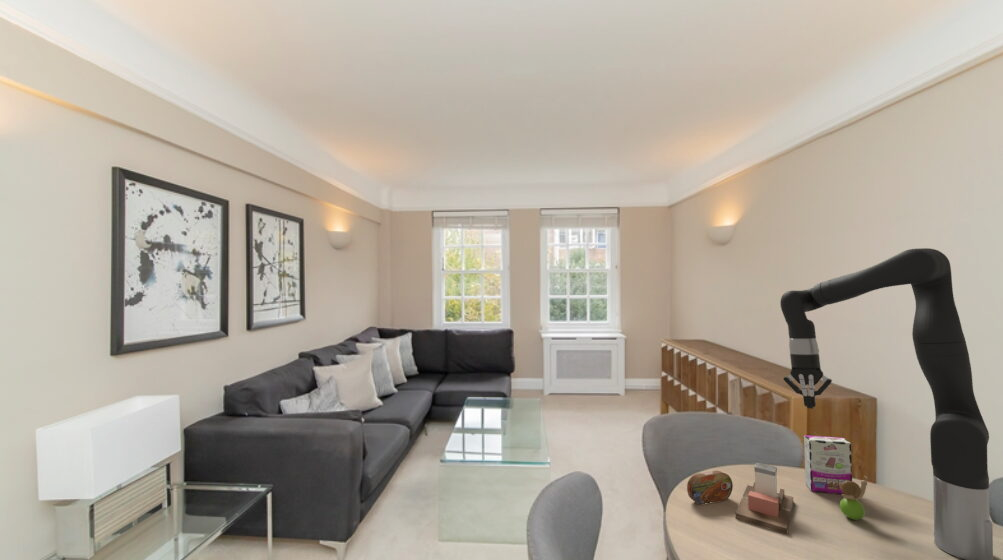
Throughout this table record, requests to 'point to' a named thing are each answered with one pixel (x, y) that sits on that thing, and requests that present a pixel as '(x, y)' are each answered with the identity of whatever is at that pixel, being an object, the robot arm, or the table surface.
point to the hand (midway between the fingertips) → (810, 408)
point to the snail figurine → (853, 499)
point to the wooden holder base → (764, 519)
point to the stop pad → (763, 504)
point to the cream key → (766, 479)
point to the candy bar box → (827, 463)
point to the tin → (709, 487)
